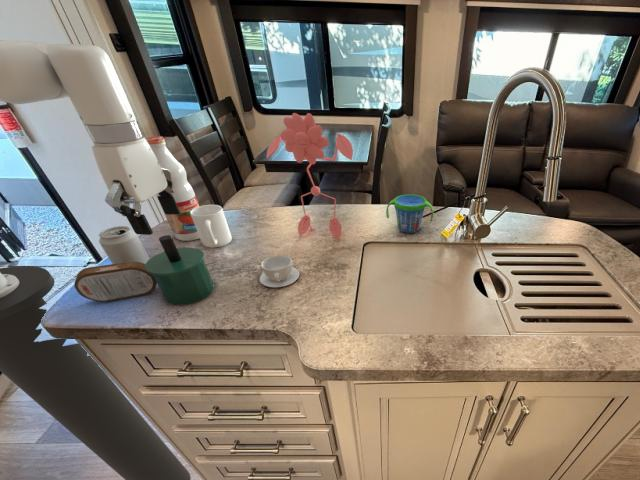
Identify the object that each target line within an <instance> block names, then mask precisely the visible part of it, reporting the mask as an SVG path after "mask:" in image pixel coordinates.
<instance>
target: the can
mask: <svg viewBox="0 0 640 480" xmlns="http://www.w3.org/2000/svg"><path fill="white" fill-rule="evenodd" d="M131 228H132V227H130V226H125V225H118V226H113V227H109V228H105V229H104V230H102V231H100V232H99V234H98V237H99V239H98V243H99V244H100V247H101V248H102V249H103V251H104V253H105V254H106V256H107V258H108V259H109V261H110V262H111V264H116V263H123V262H132V261H134V262H141V263H144V264H146V263H147V261H148V260H149V259H151V257H150V256H149V255H148V252H147V251H146V249H145V247H144V245H143V243H142V240H141V239H140V237H139V236H138V235H139V234H136V233H135V232H134V230H133V229H131Z"/></svg>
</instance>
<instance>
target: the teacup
mask: <svg viewBox="0 0 640 480" xmlns="http://www.w3.org/2000/svg"><path fill="white" fill-rule="evenodd" d="M260 266H261V269H262V271H263V272H262V273H261V274H260V276H259V282H260V284H262V285H263V286H266V287H268V288H281V287H286V286H289V285H291V284H293V283H294V282H296V281H297V280H298V279H299V278H300V271H299V270H298V269H297V268H296V267H293V261H292V259H291V257H289V256H287V255H283V254H276V255H272V256H269V257H266V258H265V259H262V261H261V263H260Z"/></svg>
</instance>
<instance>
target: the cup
mask: <svg viewBox="0 0 640 480" xmlns="http://www.w3.org/2000/svg"><path fill="white" fill-rule="evenodd" d="M190 214H191V217H192V219H193V222H194V224H195V227H196V229H197V232H198V234H199V237H200V238H199V239H200V242H201V244H202V245H203V246H204V247H206V248H209V249H210V248H211V249H212V248H213V249H215V248H222V247H225V246H226V245H228V244H230V243H231V241H232V239H233V238H232V234H231V231H230V228H229V225H228V221H227V218H226V215H225V212H224V210H223V207H222V206H221V205H220V204H219V205H218V204H203V205H199V207H196V208H194V209H192V210H191V211H190Z"/></svg>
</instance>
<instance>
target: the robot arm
mask: <svg viewBox="0 0 640 480" xmlns="http://www.w3.org/2000/svg"><path fill="white" fill-rule="evenodd" d="M64 98H69V99H70V101H71V103H72V105H73V108H74V109H75V111H76V113H77V115H78V117H79V118H80V120H81V122H82V124H83V126H84V128H85V130H86V132H87V133H88V136H89V138H90V140H91V141H92V143H93V145H92V146H91V149H92V153H93V156H94V159H95V162H96V165H97V168H98V169H99V172H100V175H101V177H102V179H103V181H104V183H105V185H106V187H107V189H108V192H107V193H106V196H105V198H104V201H105V203H106V204H107V205H108V206H109V207H110V208H112V209H113V210H114V212H116V213H118V214H120V215H121V216H122V217H126V219H127V221H128V223H129V225H131V228H132V231H134V232H135V233H136V234H137V235H139V236H140V235H141V236H142V235H143V236H144V235H146V236H147V235H149V236H151V235H152V234H153V233H154V231H153V229H152V227H151V225H150V222H149V221H148V219H147V217H146V215H145V214H142V203H144V202H146V201H148V200H150V199H151V198H153V197H155V196H156V195H157V194H159V195H160V196H156V198H157V197H158V198H157V201H158V203H159V205H160V204H161V205H160V207H161V206H162V207H161V209H162V211H163V213H165V214H174V215H178V214H180V210H179V208H178V206H177V203H176V201H175V199H174V196H172V195H174V191H173V190H172V185H173V184H172V181H171V174H170V171H169V170H167V169H163V168H161V166H160V164H159V162H158V160H157V158H156V156H155V154H154V153H153V151H152V149H151V147H150V146H149V144H148V142H147V141H146V139H145V135H144V134H143V131H142V129H141V127H140V124H139V122H138V119H137V118H136V115H135V113H134V110H133V108H132V106H131V103H130V101H129V99H128V96H127V94H126V92H125V90H124V88H123V85H122V83H121V81H120V78H119V76H118V73H117V72H116V69H115V67H114V64H113V62H112V60H111V58H110V56H109V55H108V53H107V52H106V51H105V50H104V49H103V48H102V47H100V46H97V45H94V44H85V43H84V44H83V43H82V44H81V43H55V44H54V43H53V44H52V43H46V42H39V41H31V40H30V41H29V40H27V41H26V40H2V39H1V40H0V101H1V102H4V103H8V104H15V105H24V104H25V105H26V104H33V103H39V102H43V101H53V100H57V99H58V100H59V99H64ZM130 205H132V207H130ZM165 214H164V215H165ZM18 285H19V280H18V279H17V278H16V277H15V276H13V275H9V274H1V273H0V298H2V297H4V296H6V295H8V294H9V293H11V292H12V291H14V290H15V289H16V288H17V287H18Z"/></svg>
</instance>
